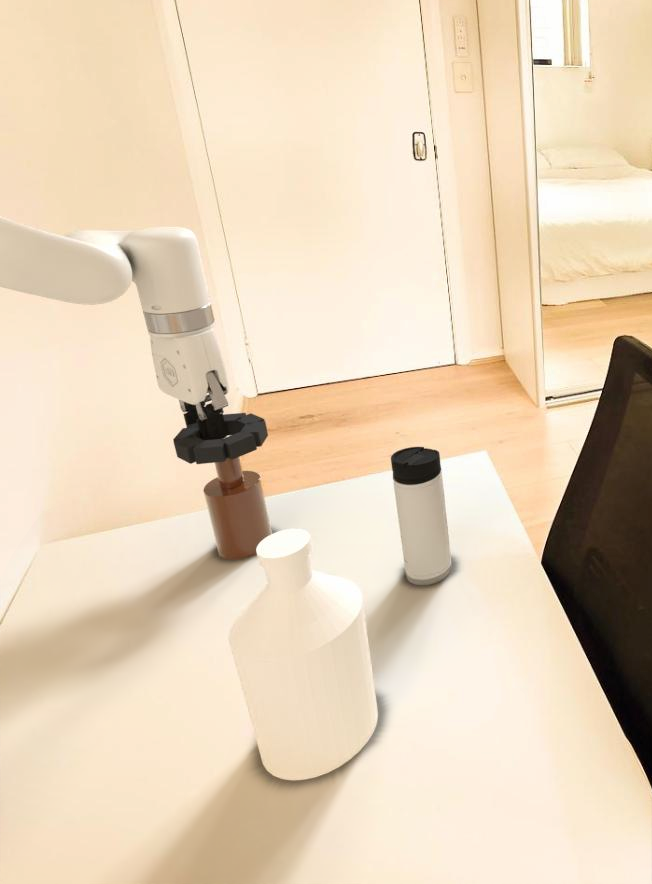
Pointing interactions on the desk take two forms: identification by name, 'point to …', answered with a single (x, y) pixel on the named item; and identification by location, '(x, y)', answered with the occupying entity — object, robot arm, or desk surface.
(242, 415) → the rubber ring
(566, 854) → the desk surface
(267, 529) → the amber bottle
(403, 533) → the travel mug
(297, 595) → the bottle
